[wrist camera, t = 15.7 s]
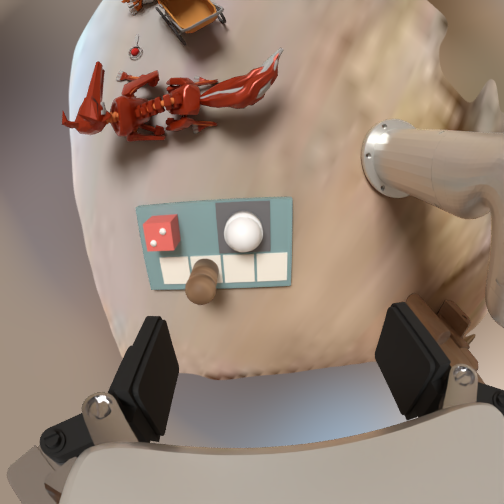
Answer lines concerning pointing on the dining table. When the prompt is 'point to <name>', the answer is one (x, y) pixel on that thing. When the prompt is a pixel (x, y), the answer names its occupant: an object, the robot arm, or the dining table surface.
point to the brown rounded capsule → (202, 282)
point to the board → (215, 242)
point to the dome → (243, 231)
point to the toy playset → (181, 96)
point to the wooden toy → (446, 329)
